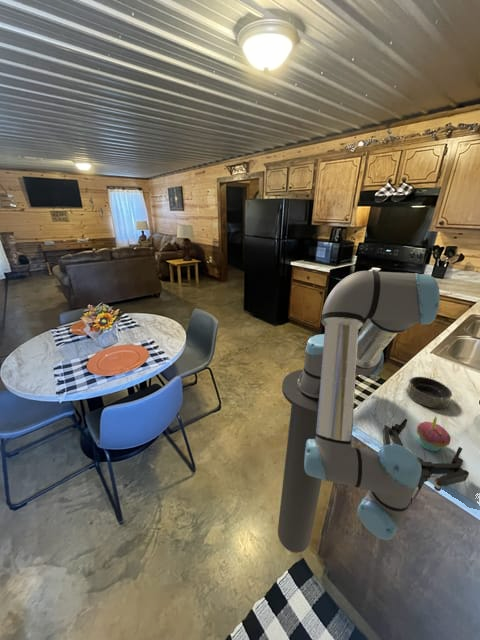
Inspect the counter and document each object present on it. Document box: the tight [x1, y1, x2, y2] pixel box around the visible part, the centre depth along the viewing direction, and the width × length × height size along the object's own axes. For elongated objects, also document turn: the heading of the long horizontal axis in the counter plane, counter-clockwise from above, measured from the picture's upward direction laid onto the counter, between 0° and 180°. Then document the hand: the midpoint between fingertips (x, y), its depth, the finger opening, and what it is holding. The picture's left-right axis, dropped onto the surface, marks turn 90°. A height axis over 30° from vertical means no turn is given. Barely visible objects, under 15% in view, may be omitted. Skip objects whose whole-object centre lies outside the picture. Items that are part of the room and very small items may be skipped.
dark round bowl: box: [406, 376, 453, 410], centre depth 101 cm, size 13×13×5 cm
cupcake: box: [416, 415, 452, 452], centre depth 79 cm, size 9×8×12 cm
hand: (430, 435), depth 77 cm, fingers open, 13 cm apart
